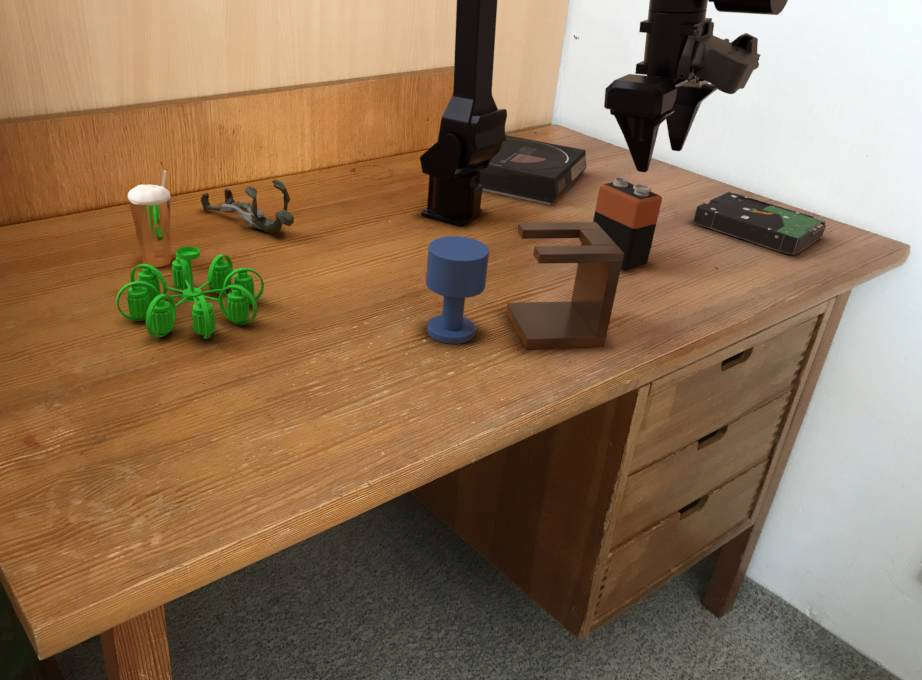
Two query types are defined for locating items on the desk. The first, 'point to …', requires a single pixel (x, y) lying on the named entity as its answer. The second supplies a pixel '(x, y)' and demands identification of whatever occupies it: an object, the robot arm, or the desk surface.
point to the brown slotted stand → (591, 294)
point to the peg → (455, 284)
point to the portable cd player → (532, 170)
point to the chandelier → (190, 294)
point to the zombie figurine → (254, 209)
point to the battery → (628, 218)
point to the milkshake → (152, 222)
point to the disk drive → (760, 222)
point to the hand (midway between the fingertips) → (659, 160)
